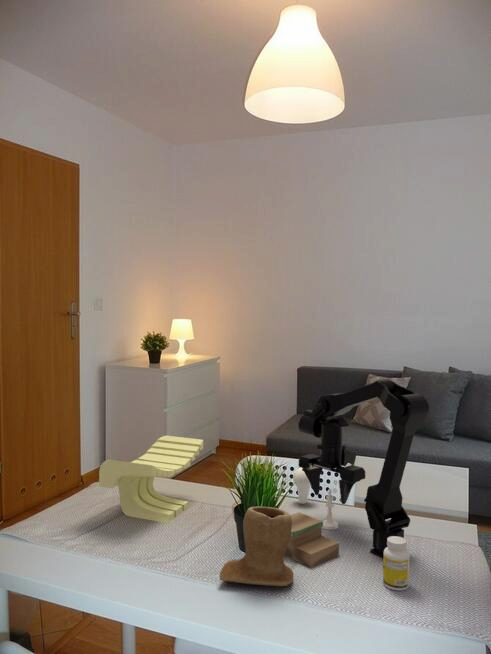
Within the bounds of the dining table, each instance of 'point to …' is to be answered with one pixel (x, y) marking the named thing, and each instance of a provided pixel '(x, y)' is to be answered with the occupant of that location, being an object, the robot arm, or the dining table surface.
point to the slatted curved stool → (150, 478)
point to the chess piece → (329, 514)
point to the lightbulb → (301, 485)
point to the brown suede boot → (262, 549)
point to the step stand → (309, 541)
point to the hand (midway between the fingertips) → (330, 499)
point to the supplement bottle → (396, 564)
